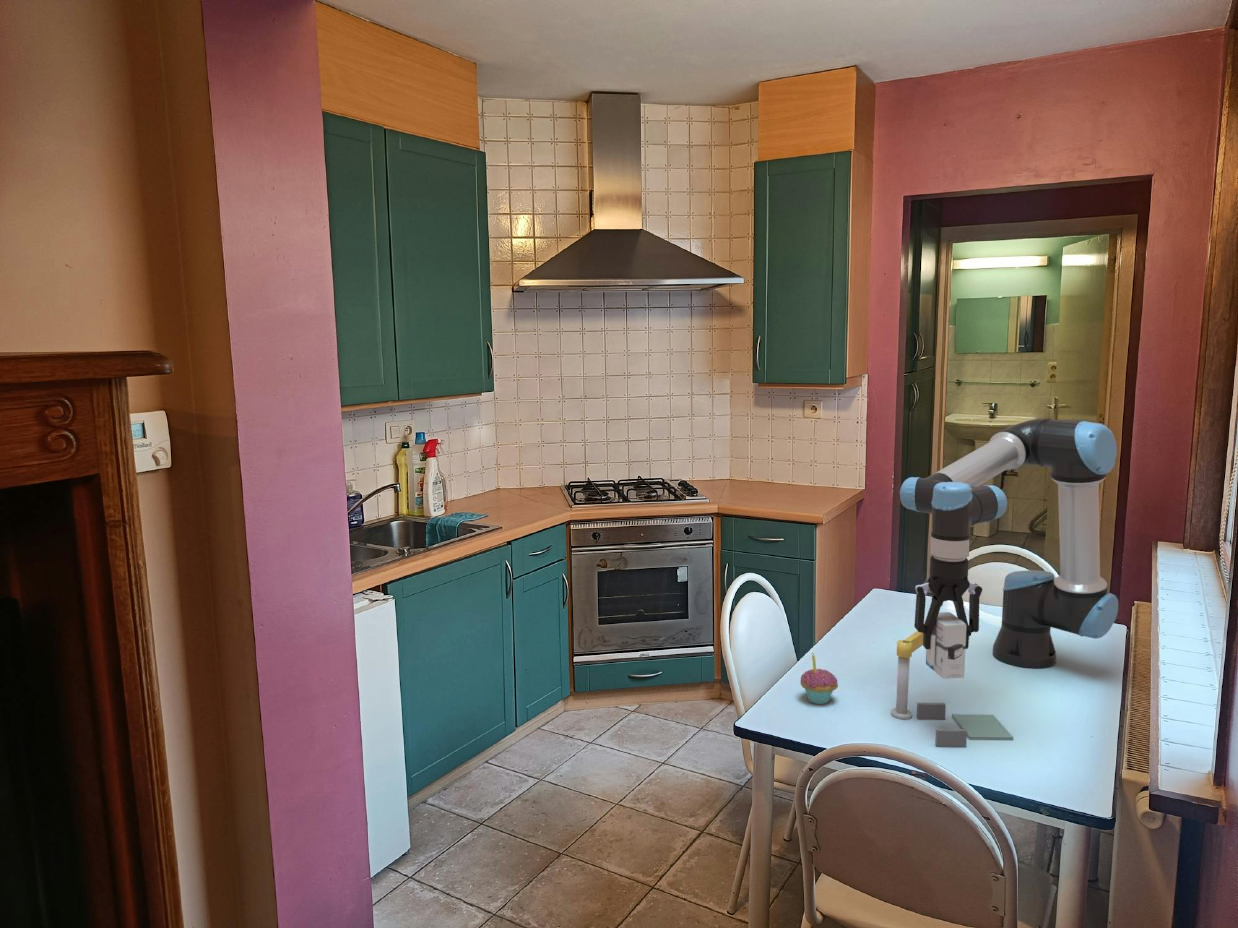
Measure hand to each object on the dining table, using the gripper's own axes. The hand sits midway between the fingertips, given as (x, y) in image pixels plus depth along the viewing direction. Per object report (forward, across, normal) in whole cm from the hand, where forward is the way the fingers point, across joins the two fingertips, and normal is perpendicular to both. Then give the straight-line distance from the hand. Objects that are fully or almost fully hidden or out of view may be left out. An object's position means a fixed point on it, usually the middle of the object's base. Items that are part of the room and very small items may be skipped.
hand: (944, 662), depth 184 cm
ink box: (+2, 0, 0) cm, 2 cm away
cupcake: (+15, +24, -16) cm, 32 cm away
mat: (+16, -9, -2) cm, 18 cm away
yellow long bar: (+1, +3, -12) cm, 13 cm away
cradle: (+15, +3, -1) cm, 16 cm away
